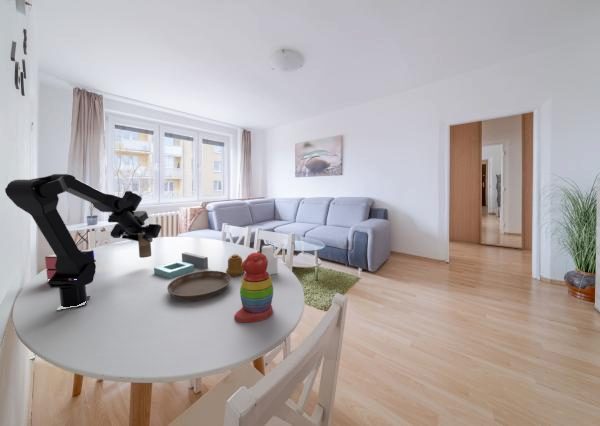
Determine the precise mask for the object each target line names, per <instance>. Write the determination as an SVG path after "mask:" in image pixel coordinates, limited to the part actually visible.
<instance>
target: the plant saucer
mask: <svg viewBox="0 0 600 426" xmlns="http://www.w3.org/2000/svg"><path fill="white" fill-rule="evenodd" d="M231 280H232V276H230V275H229V274H227V273H226V272H224V271H218V270H203V271H195V272H191V273H186V274H183V275H180V276H178V277H177V278H175V279H173V280H172V281H171V282H170V283H168V285H167V287H166V289H167V291H168V293H169V294H170V295H171V296H172V297H175V298H176V299H179V300H182V301H200V300H201V301H202V300H206V299H210V298H212V297H215V296H217V295H219V294H220V293H222V292H223V291H224V290H226V288H227V287H228V286H229V284H230V282H231Z"/></svg>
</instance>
